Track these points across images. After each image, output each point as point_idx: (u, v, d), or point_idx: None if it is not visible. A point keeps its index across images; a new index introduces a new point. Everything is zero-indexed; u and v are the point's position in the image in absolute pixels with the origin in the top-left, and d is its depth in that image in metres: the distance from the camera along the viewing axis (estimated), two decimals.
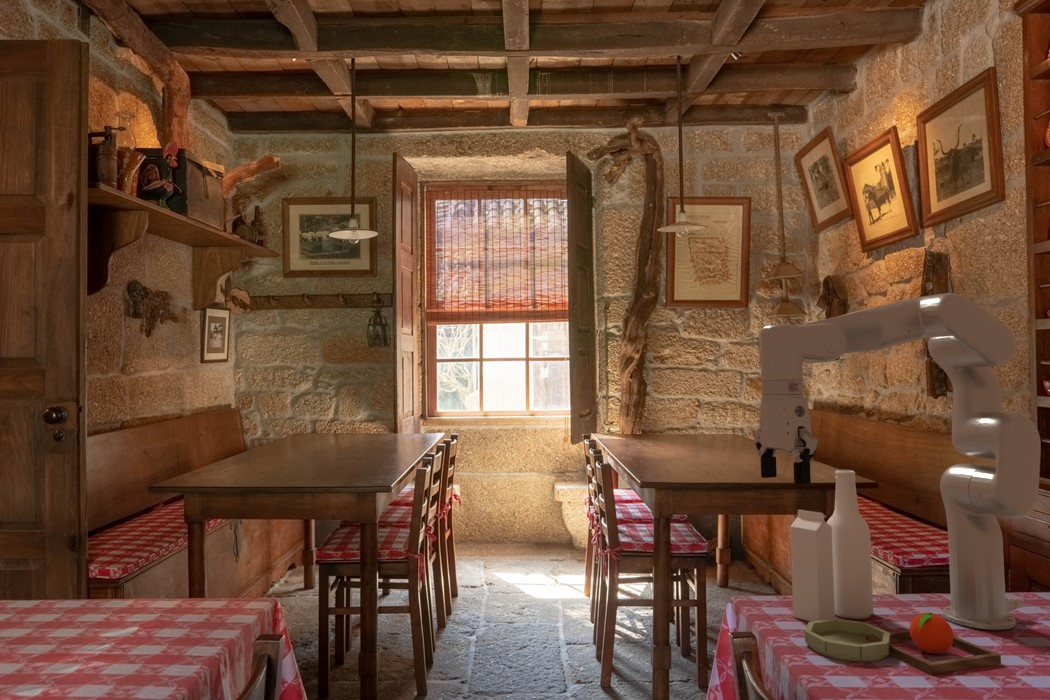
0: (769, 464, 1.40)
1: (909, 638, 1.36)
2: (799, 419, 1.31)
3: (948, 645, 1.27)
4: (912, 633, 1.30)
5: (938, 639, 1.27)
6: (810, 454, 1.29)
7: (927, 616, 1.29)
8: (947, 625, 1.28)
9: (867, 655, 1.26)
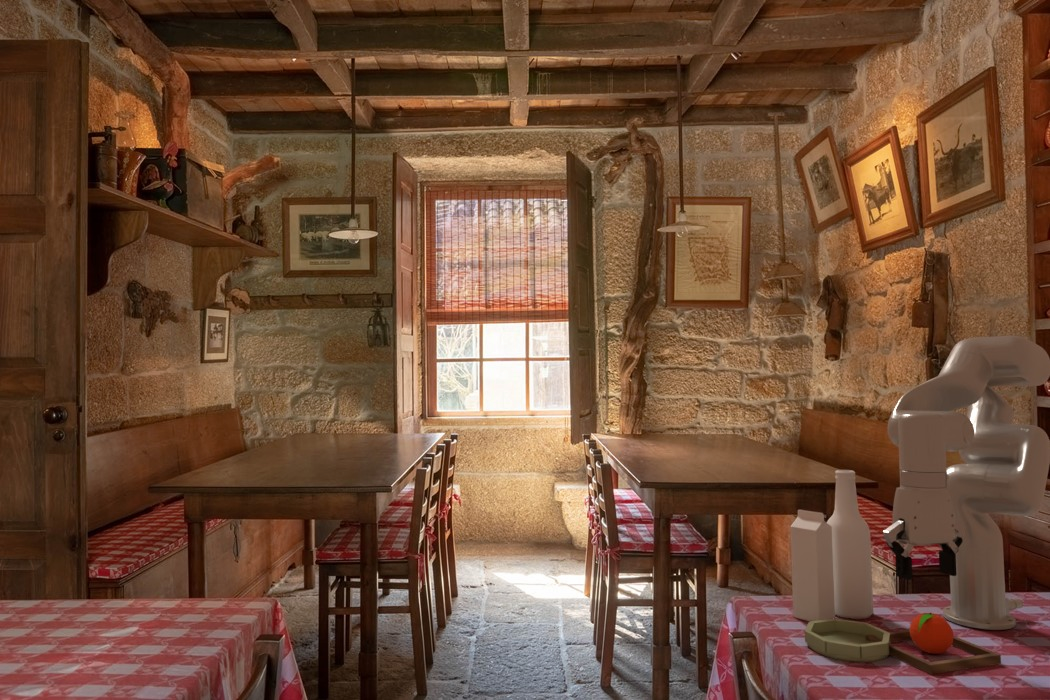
0: None
1: (909, 638, 1.36)
2: None
3: (948, 645, 1.27)
4: (912, 633, 1.30)
5: (938, 639, 1.27)
6: None
7: (927, 616, 1.29)
8: (947, 625, 1.28)
9: (867, 655, 1.26)
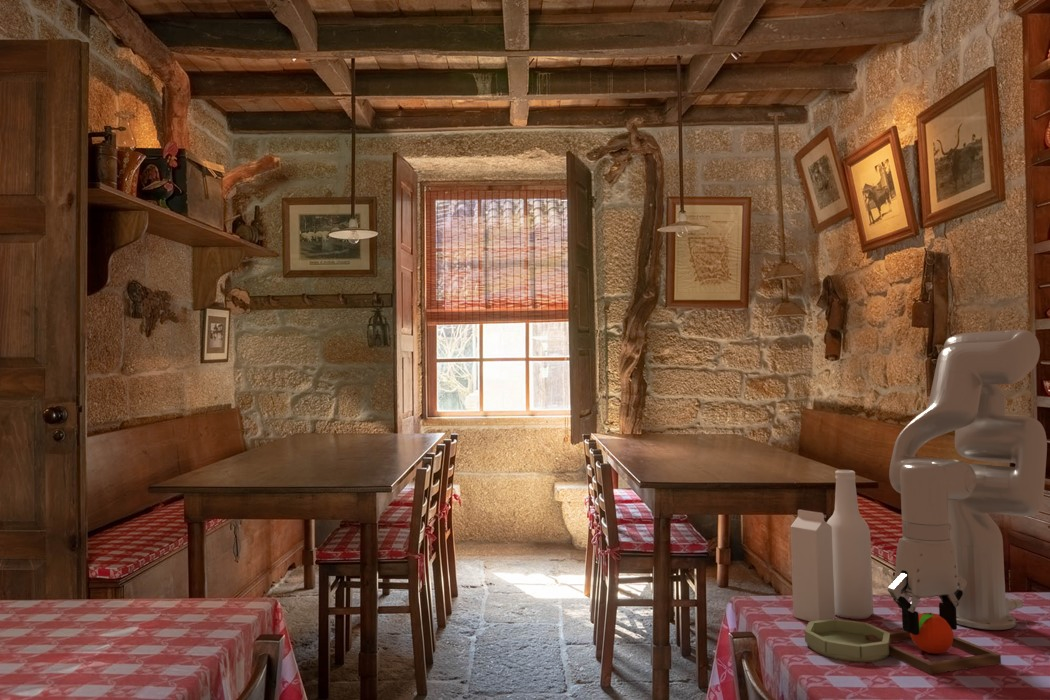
0: None
1: (909, 638, 1.36)
2: None
3: (948, 645, 1.27)
4: None
5: (938, 639, 1.27)
6: None
7: (927, 616, 1.29)
8: (947, 625, 1.28)
9: (867, 655, 1.26)
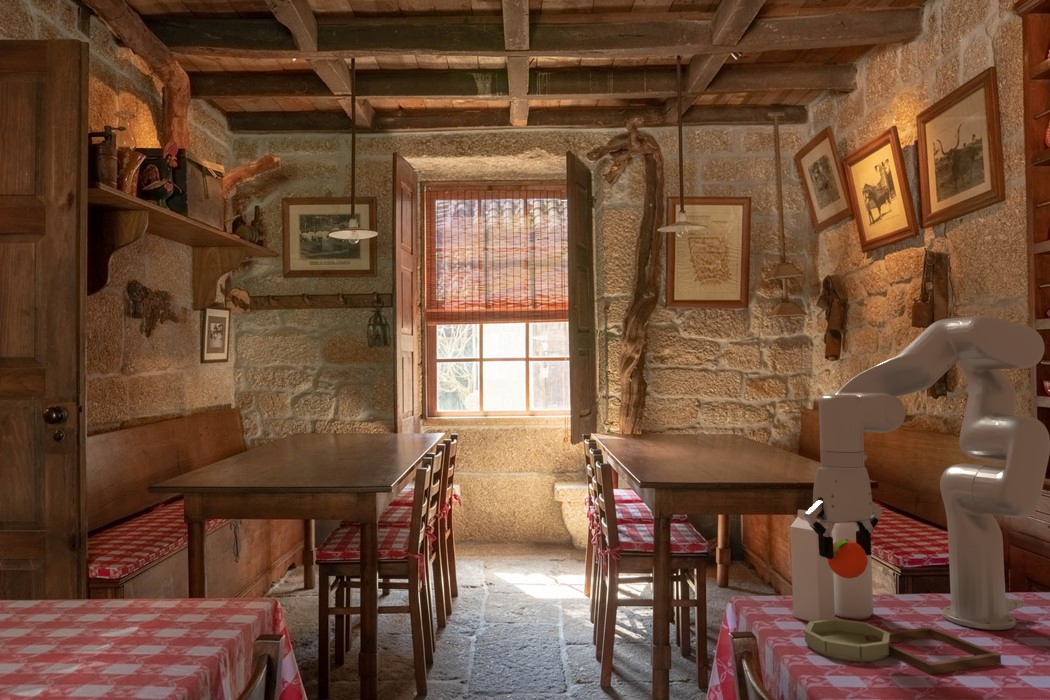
0: None
1: (909, 638, 1.36)
2: None
3: (861, 569, 1.31)
4: (828, 559, 1.34)
5: (851, 562, 1.31)
6: None
7: (843, 542, 1.33)
8: (861, 550, 1.32)
9: (867, 655, 1.26)
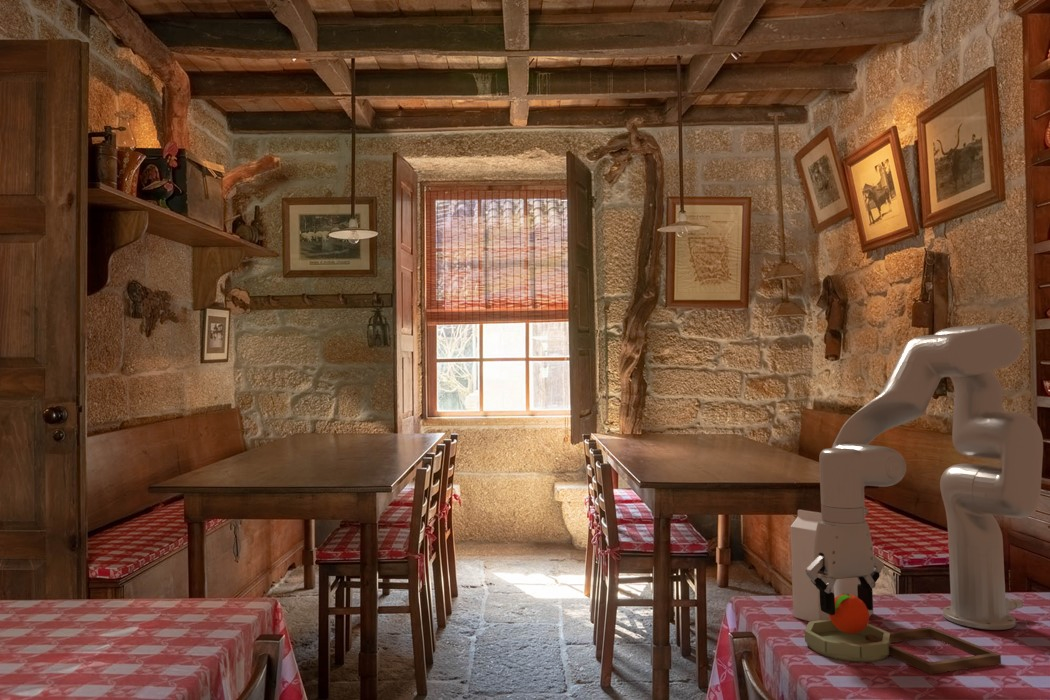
0: None
1: (909, 638, 1.36)
2: None
3: (863, 625, 1.31)
4: None
5: (853, 619, 1.30)
6: None
7: (844, 597, 1.33)
8: (863, 605, 1.32)
9: (867, 655, 1.26)
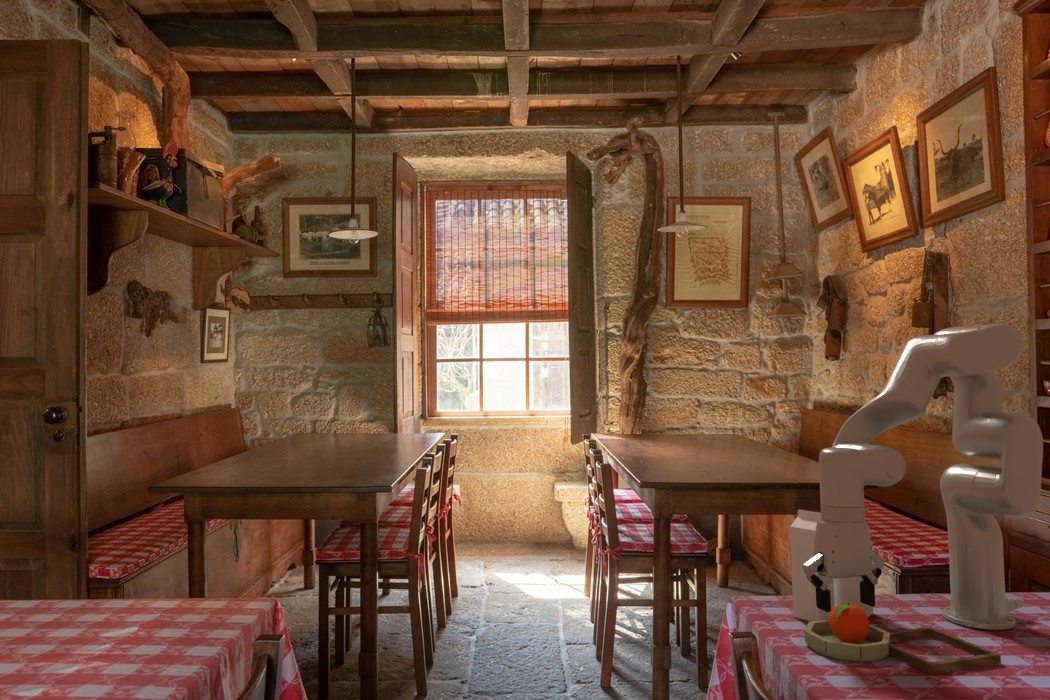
0: None
1: (909, 638, 1.36)
2: None
3: (864, 635, 1.31)
4: (830, 623, 1.33)
5: (853, 629, 1.30)
6: None
7: (845, 607, 1.33)
8: (863, 615, 1.32)
9: (867, 655, 1.26)
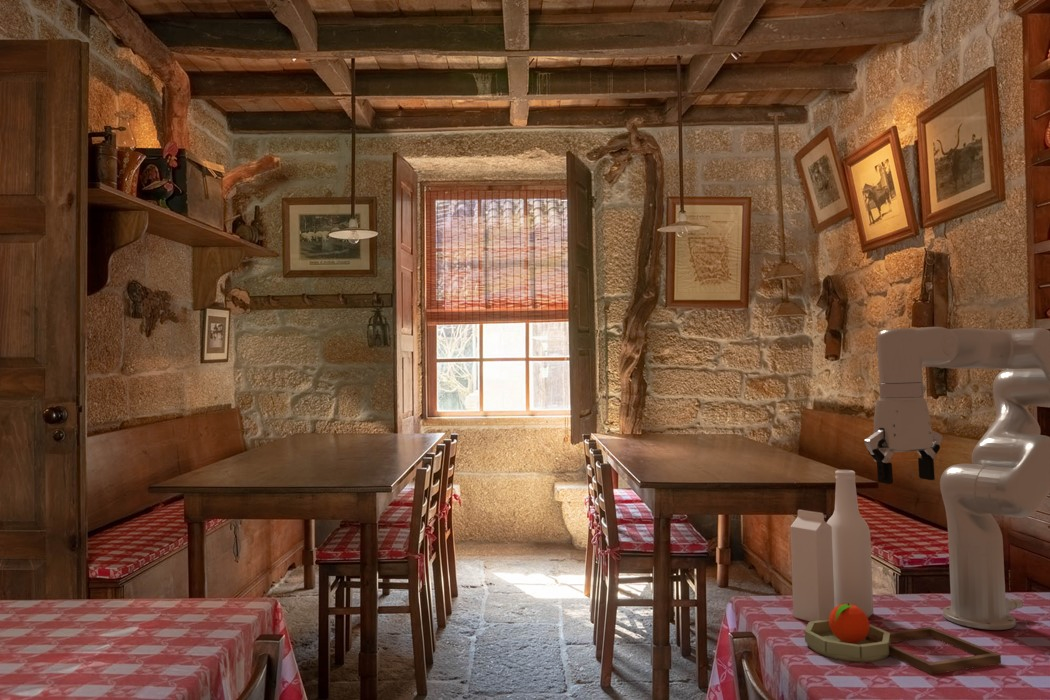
0: None
1: (909, 638, 1.36)
2: None
3: (864, 635, 1.31)
4: (830, 623, 1.33)
5: (853, 629, 1.30)
6: None
7: (844, 607, 1.33)
8: (863, 615, 1.32)
9: (867, 655, 1.26)
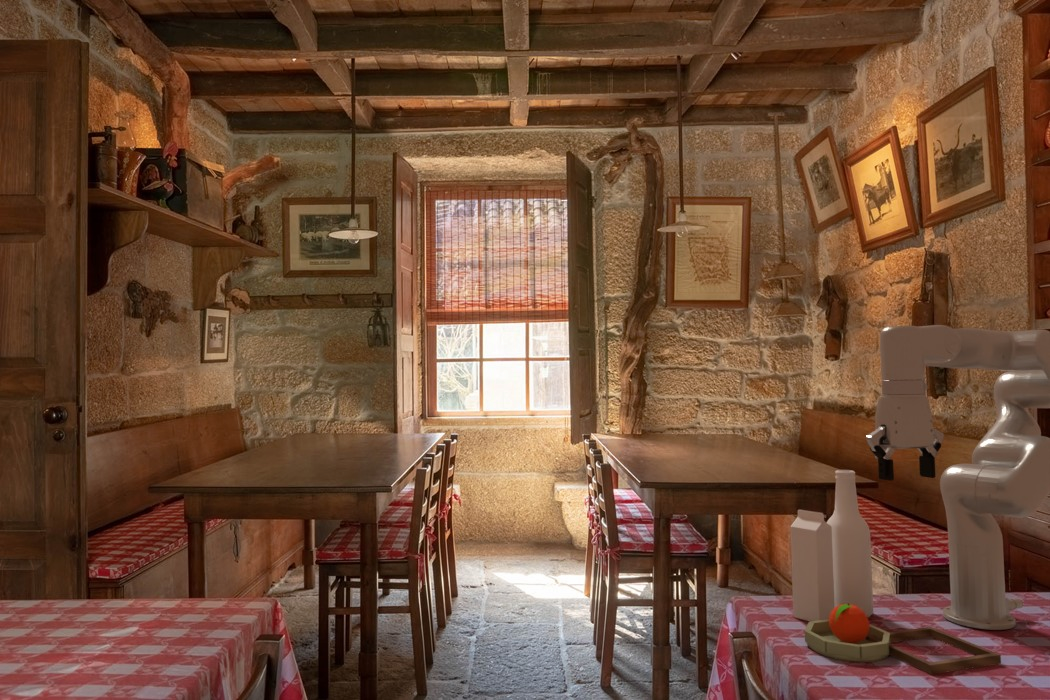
0: None
1: (909, 638, 1.36)
2: None
3: (864, 635, 1.31)
4: (830, 623, 1.33)
5: (853, 629, 1.30)
6: None
7: (844, 607, 1.33)
8: (863, 615, 1.32)
9: (867, 655, 1.26)
